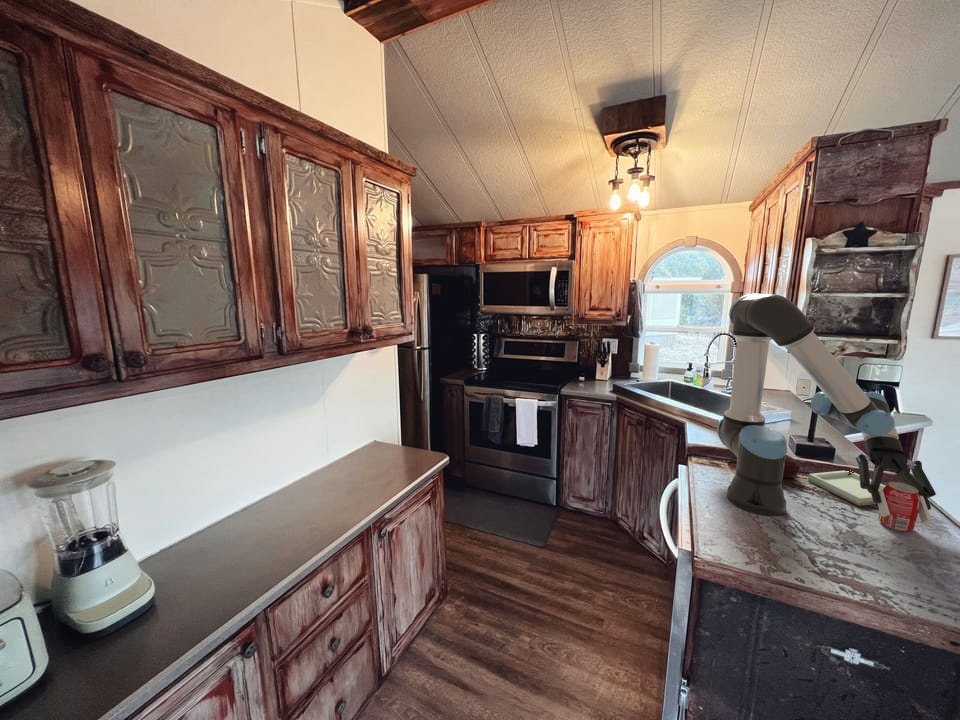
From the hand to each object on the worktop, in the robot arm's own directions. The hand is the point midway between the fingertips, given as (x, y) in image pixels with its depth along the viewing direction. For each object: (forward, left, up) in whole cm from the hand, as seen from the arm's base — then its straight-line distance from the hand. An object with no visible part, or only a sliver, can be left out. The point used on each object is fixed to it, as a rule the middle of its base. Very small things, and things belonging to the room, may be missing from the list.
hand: (905, 518), depth 103 cm
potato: (-4, +34, -5) cm, 35 cm away
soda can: (+2, +3, -5) cm, 6 cm away
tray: (+11, +21, -4) cm, 24 cm away
